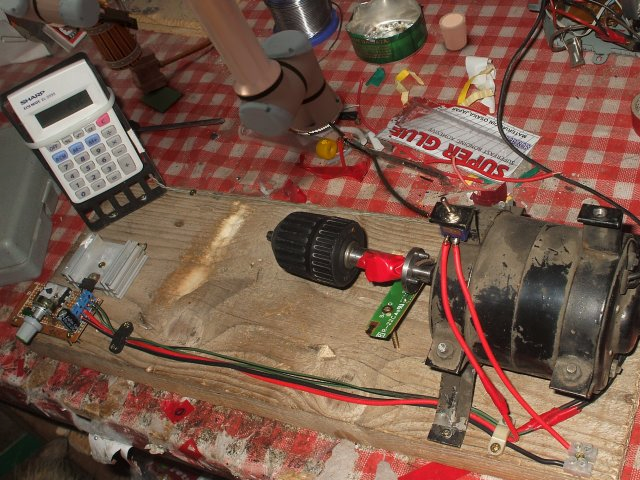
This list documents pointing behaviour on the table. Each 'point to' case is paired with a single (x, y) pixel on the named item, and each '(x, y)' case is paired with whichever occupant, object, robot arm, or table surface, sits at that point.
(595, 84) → the table surface
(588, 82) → the table surface
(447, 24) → the pink cylinder
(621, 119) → the table surface
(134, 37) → the mug
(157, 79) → the hammer
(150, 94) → the mat
